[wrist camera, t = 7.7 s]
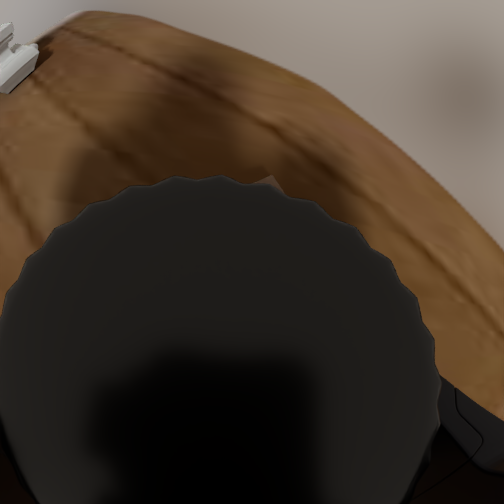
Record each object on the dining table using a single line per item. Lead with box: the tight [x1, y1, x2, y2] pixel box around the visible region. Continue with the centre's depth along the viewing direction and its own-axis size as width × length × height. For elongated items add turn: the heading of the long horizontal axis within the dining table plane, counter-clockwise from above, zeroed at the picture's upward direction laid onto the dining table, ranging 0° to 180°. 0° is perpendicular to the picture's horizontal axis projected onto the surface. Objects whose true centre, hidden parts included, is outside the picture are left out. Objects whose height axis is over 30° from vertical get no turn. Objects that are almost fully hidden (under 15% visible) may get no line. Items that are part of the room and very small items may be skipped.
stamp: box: [0, 23, 39, 94], centre depth 17 cm, size 9×7×8 cm
